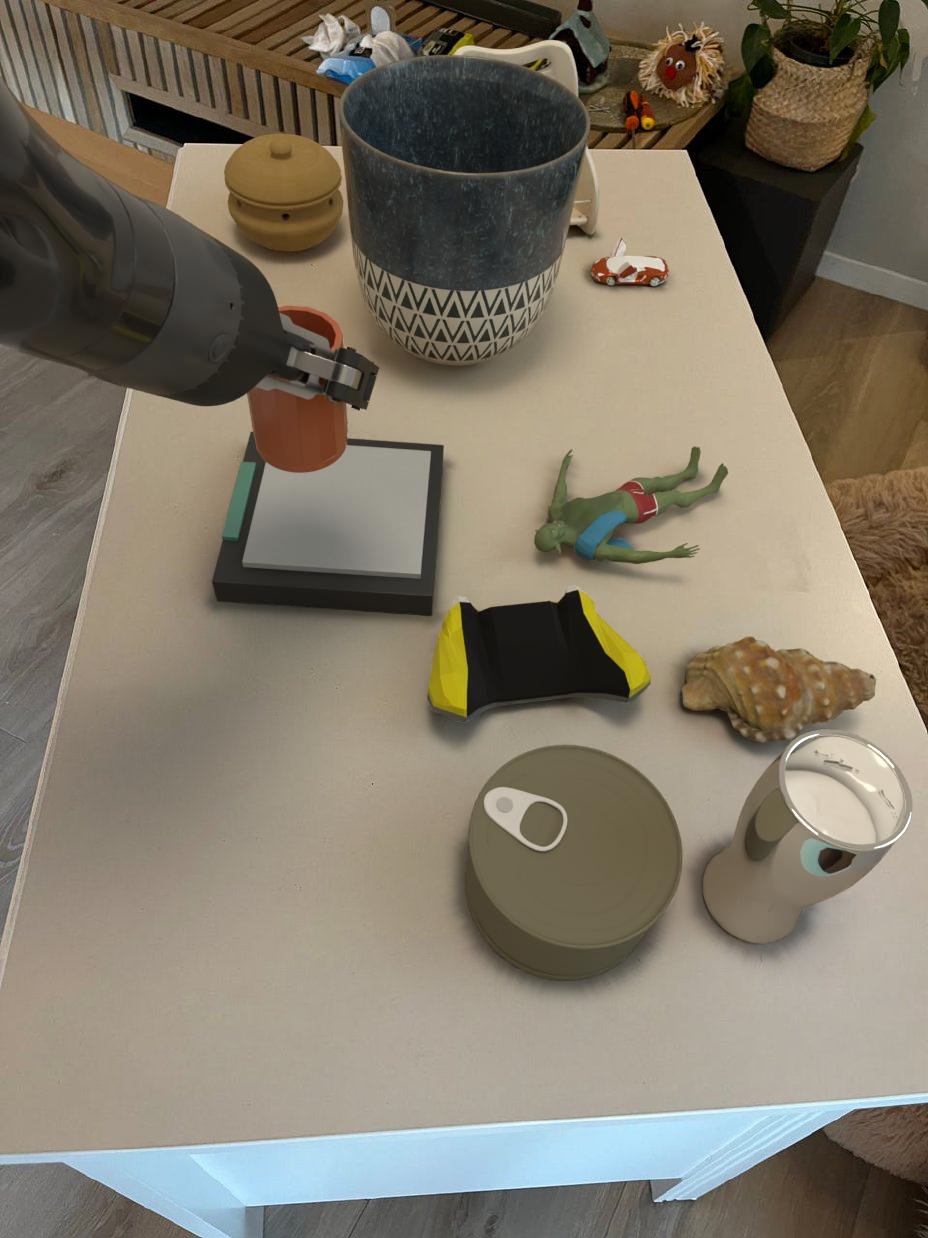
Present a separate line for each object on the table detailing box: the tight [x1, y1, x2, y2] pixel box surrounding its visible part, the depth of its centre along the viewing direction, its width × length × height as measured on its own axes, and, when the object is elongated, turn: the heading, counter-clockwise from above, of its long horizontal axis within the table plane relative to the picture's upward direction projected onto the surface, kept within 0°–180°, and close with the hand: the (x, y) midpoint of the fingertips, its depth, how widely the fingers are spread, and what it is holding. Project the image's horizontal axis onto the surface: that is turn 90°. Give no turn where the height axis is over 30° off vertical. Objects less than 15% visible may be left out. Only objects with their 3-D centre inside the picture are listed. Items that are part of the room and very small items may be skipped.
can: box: [464, 744, 683, 981], centre depth 54 cm, size 12×12×7 cm
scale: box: [211, 431, 445, 616], centre depth 72 cm, size 16×16×3 cm
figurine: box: [533, 446, 729, 565], centre depth 74 cm, size 16×4×18 cm
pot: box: [223, 133, 344, 252], centre depth 93 cm, size 12×12×10 cm
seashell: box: [680, 635, 877, 743], centre depth 63 cm, size 9×8×10 cm
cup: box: [246, 305, 349, 473], centre depth 55 cm, size 6×6×8 cm
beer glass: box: [701, 728, 914, 945], centre depth 51 cm, size 7×7×15 cm
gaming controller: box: [426, 584, 652, 723], centre depth 63 cm, size 15×6×10 cm
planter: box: [338, 54, 591, 367], centre depth 79 cm, size 20×20×21 cm
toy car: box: [590, 237, 669, 288], centre depth 95 cm, size 5×8×3 cm, turn 92°
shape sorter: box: [452, 39, 600, 235], centre depth 94 cm, size 20×10×18 cm, turn 104°
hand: (309, 371), depth 56 cm, fingers closed on cup, 6 cm apart
